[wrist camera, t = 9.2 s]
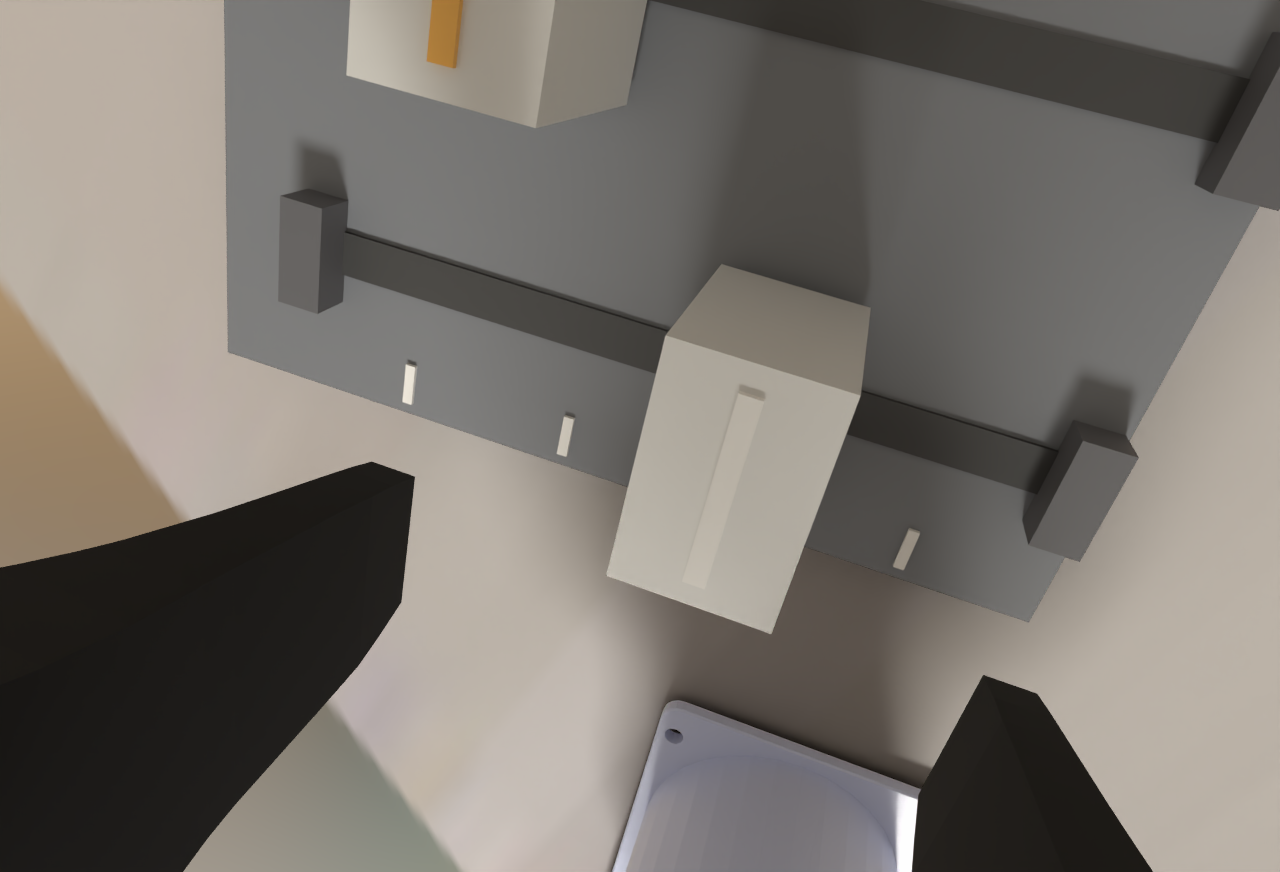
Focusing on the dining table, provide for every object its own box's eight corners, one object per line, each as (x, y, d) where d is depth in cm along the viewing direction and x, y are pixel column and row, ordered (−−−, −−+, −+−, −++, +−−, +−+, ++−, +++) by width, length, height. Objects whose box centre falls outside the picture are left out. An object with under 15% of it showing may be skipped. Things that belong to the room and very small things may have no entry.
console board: (1021, 591, 20) (1034, 651, 18) (259, 337, 23) (199, 365, 21) (1399, -111, 13) (1483, -136, 11) (264, -344, 16) (178, -395, 14)
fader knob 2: (799, 505, 19) (770, 638, 15) (668, 461, 19) (603, 579, 15) (870, 307, 17) (860, 398, 12) (721, 264, 17) (663, 337, 13)
